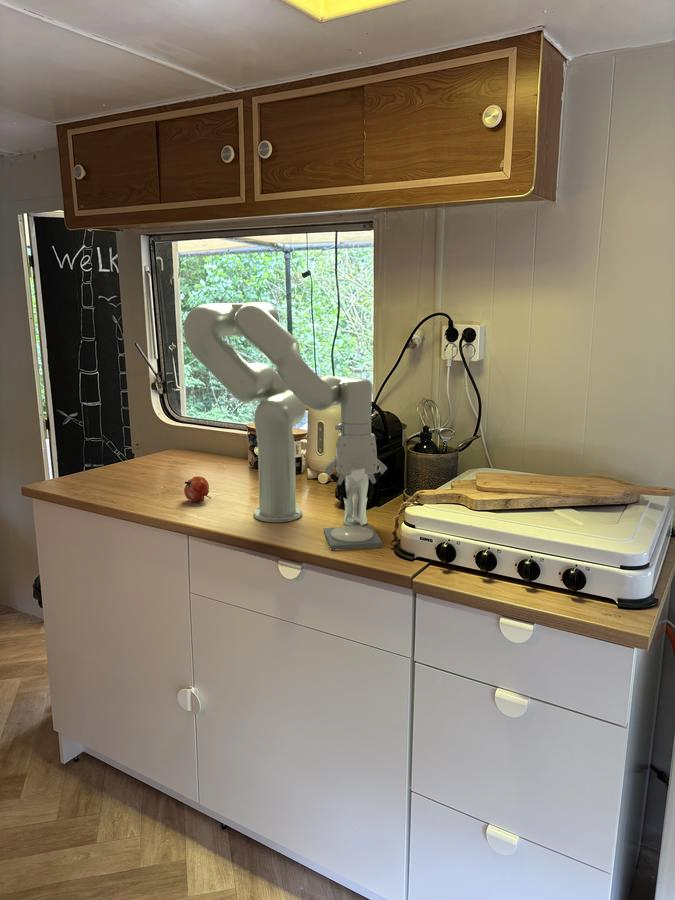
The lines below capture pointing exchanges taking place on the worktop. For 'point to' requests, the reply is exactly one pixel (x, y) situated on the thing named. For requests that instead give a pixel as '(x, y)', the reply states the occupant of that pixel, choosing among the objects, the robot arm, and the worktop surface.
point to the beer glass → (356, 497)
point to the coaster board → (352, 537)
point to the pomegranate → (196, 489)
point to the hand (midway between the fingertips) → (355, 497)
